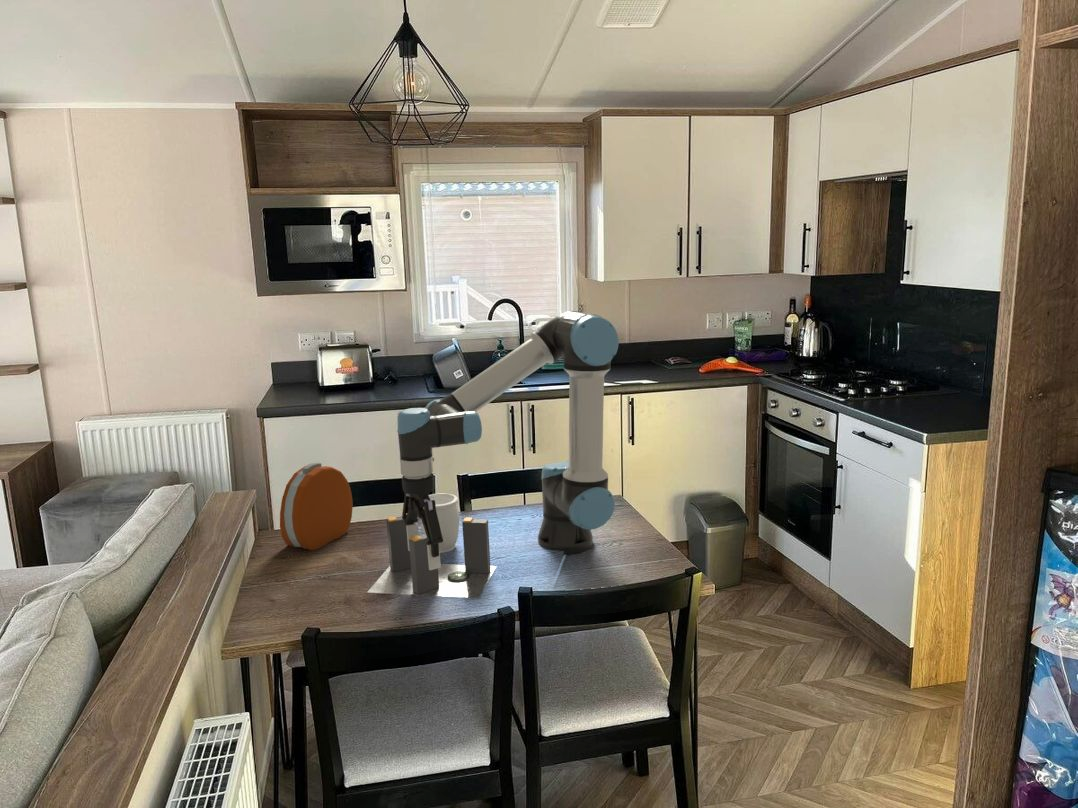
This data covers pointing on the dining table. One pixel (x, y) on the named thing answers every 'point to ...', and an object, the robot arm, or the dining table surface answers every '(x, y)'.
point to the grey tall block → (398, 544)
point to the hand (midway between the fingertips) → (424, 558)
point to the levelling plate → (450, 582)
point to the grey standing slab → (421, 566)
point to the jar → (446, 519)
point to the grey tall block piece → (476, 545)
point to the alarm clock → (315, 507)
